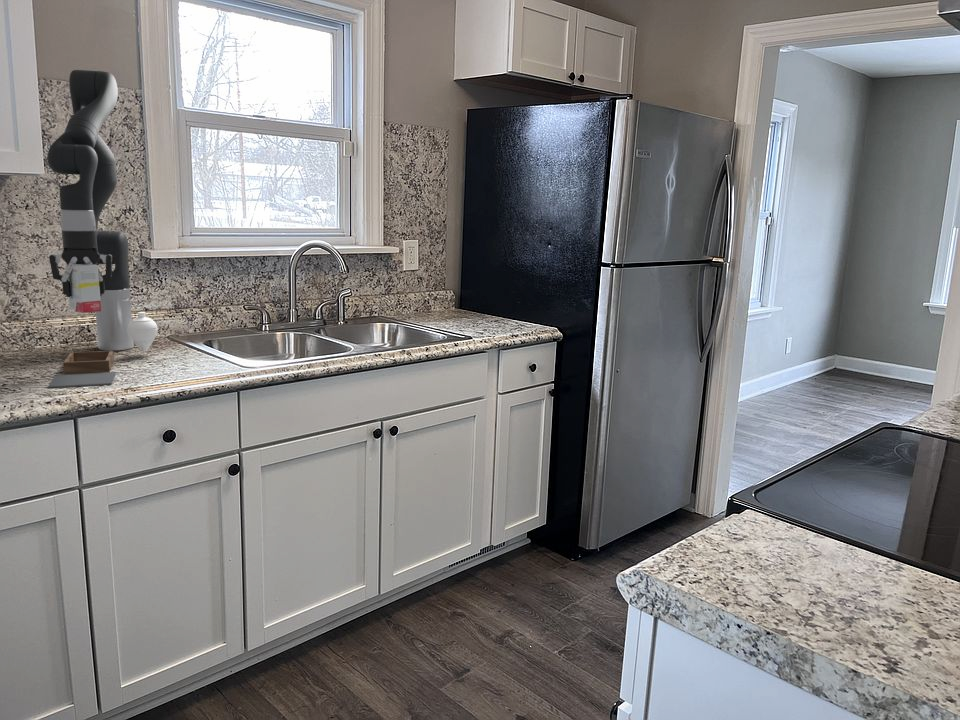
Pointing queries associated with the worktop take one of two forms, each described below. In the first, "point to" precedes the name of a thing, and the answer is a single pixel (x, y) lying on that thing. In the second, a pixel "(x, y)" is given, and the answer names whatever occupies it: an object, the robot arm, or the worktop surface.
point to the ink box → (84, 288)
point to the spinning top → (142, 331)
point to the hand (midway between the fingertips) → (84, 296)
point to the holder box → (88, 362)
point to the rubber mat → (82, 379)
